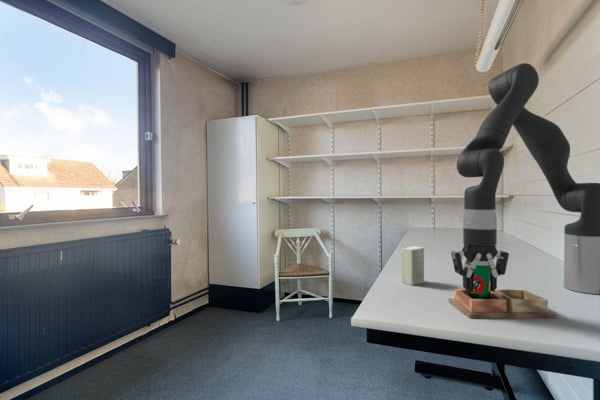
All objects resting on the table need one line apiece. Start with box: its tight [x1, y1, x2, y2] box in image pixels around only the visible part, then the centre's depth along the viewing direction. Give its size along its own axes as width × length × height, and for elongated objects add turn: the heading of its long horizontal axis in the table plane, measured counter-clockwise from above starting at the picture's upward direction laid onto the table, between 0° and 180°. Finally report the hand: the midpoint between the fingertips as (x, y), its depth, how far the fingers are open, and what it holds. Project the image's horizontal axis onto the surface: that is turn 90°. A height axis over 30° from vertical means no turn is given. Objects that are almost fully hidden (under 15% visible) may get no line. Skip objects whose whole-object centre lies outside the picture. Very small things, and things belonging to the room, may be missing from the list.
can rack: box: [447, 288, 557, 319], centre depth 80 cm, size 21×11×4 cm, turn 89°
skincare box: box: [401, 245, 425, 286], centre depth 104 cm, size 6×4×12 cm
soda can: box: [468, 260, 491, 299], centre depth 80 cm, size 5×5×12 cm
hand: (479, 290), depth 80 cm, fingers open, 5 cm apart
